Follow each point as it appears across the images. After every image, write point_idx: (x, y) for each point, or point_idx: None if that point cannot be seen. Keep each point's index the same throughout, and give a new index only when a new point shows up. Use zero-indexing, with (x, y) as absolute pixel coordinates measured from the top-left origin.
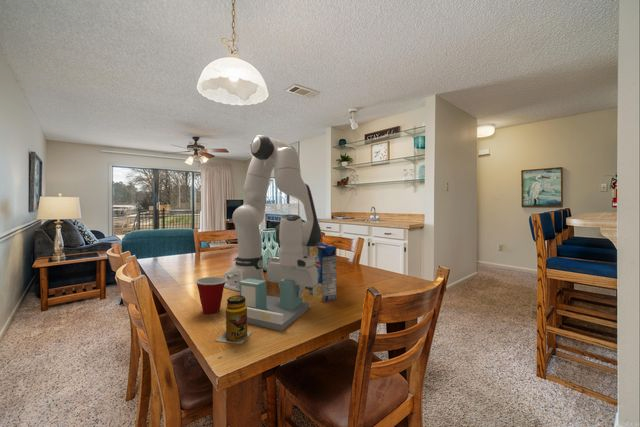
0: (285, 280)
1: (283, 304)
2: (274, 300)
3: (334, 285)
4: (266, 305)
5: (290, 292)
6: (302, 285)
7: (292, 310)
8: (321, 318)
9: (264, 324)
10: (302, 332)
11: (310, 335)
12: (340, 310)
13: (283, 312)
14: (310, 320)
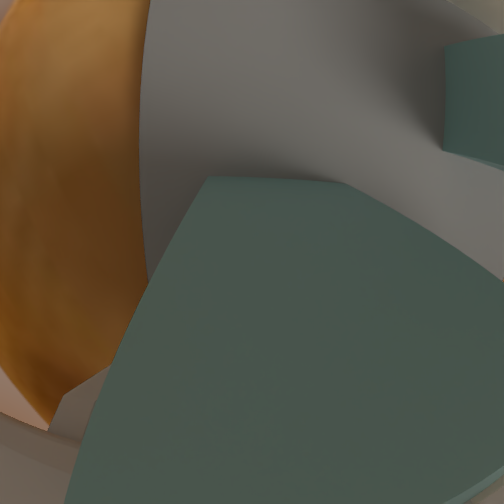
0: (482, 488)
1: (321, 188)
2: None
3: None
4: (456, 152)
5: (216, 242)
6: (3, 426)
7: (203, 173)
8: (25, 222)
9: None
10: (51, 10)
11: (13, 19)
12: (25, 345)
13: (266, 98)
14: (58, 162)
